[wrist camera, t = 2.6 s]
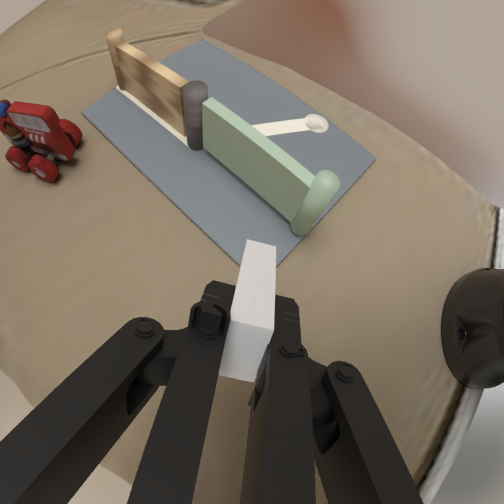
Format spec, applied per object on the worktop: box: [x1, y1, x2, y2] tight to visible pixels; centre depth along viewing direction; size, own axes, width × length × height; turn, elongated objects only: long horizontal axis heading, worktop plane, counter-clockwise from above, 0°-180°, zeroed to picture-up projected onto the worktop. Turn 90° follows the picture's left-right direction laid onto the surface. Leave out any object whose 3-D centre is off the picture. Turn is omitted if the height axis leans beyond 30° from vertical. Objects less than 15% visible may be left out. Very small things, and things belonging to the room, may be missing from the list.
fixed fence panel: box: [106, 28, 208, 151], centre depth 31 cm, size 17×2×10 cm, turn 47°
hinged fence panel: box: [202, 97, 340, 236], centre depth 29 cm, size 14×2×9 cm, turn 47°
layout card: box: [81, 40, 376, 267], centre depth 36 cm, size 32×22×1 cm
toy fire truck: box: [0, 100, 82, 182], centre depth 28 cm, size 7×12×10 cm, turn 70°
